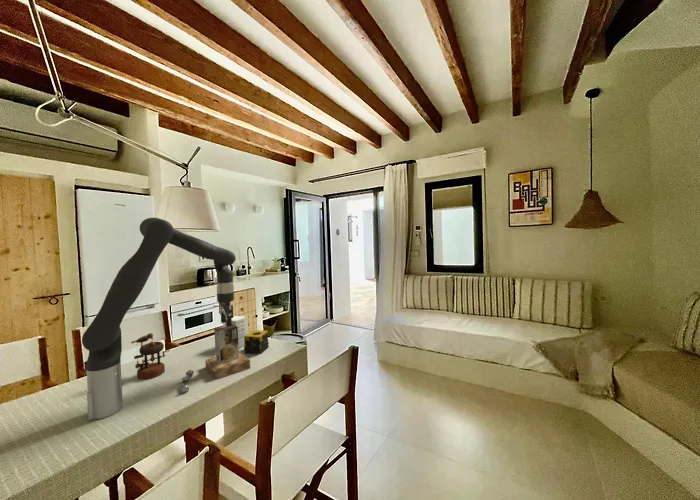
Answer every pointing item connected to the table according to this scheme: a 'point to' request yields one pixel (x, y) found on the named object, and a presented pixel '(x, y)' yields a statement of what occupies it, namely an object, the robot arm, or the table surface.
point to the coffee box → (226, 343)
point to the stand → (227, 366)
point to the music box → (151, 348)
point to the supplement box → (240, 328)
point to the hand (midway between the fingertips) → (226, 324)
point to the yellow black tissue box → (256, 342)
